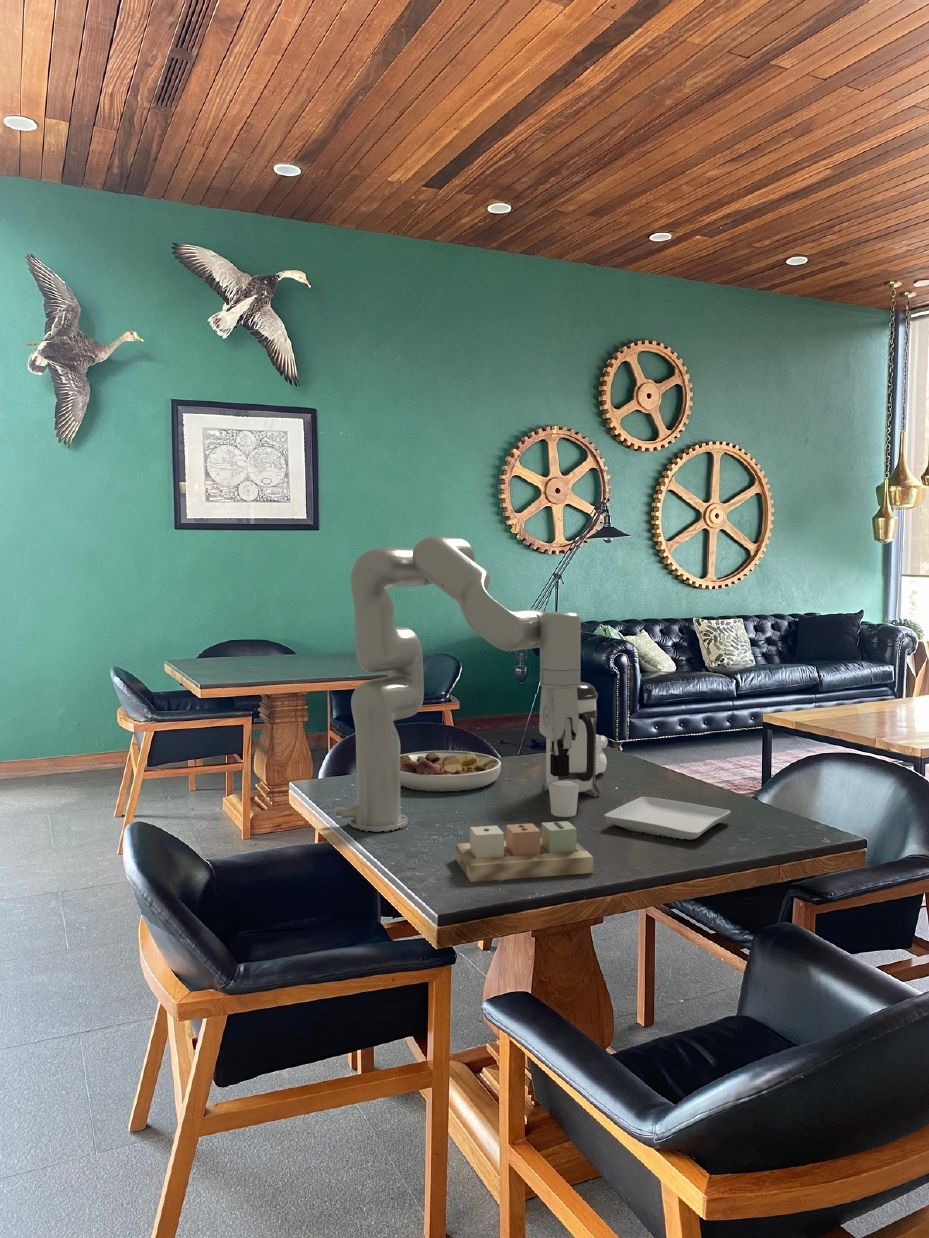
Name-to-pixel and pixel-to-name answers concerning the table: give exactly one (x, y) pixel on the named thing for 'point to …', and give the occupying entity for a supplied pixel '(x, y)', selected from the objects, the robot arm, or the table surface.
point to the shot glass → (563, 797)
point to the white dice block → (486, 842)
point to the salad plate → (666, 817)
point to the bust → (600, 754)
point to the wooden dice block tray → (523, 864)
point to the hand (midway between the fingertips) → (559, 774)
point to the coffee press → (581, 744)
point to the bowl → (447, 770)
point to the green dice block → (558, 837)
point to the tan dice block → (523, 839)
